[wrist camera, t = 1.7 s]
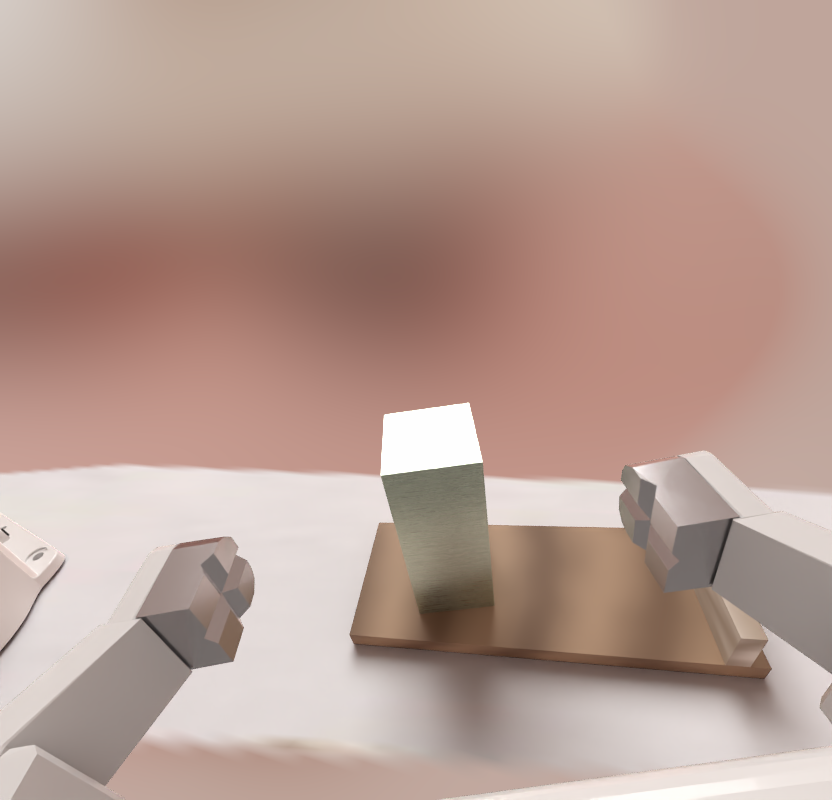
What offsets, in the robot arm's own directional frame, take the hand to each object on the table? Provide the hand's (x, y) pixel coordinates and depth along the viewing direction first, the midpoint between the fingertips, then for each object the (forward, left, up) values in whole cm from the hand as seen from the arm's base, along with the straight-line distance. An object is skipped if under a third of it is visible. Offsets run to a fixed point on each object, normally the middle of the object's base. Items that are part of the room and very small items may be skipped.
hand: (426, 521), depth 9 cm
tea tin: (-8, +9, -20) cm, 23 cm away
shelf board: (-3, +11, -21) cm, 24 cm away
